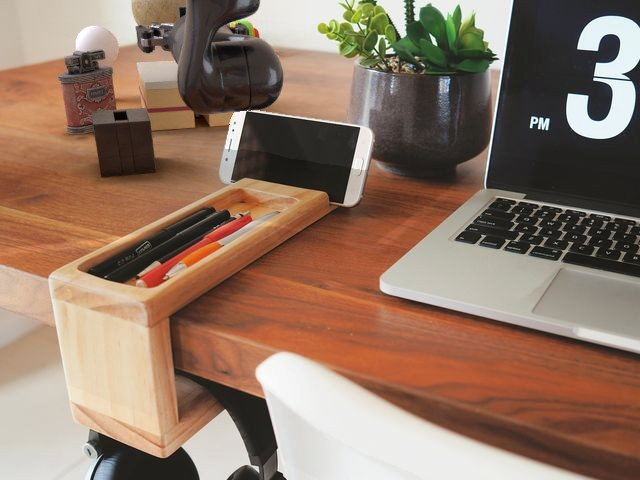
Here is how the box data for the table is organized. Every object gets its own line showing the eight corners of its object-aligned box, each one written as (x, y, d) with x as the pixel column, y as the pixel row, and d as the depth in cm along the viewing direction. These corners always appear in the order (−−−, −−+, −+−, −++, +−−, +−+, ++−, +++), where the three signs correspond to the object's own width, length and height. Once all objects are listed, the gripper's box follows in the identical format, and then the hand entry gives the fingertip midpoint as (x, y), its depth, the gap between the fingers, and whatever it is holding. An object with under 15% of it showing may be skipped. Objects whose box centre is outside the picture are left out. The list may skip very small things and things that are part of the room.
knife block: (101, 177, 81) (93, 124, 78) (99, 161, 86) (91, 110, 83) (156, 172, 83) (150, 120, 80) (151, 156, 88) (145, 107, 85)
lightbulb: (77, 98, 112) (65, 24, 107) (115, 93, 116) (105, 21, 111) (93, 106, 108) (82, 30, 103) (132, 101, 112) (123, 26, 107)
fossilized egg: (123, 42, 157) (113, -33, 151) (160, 34, 168) (153, -36, 161) (171, 47, 153) (163, -29, 146) (206, 39, 163) (200, -33, 157)
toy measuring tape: (250, 48, 154) (248, 16, 151) (278, 65, 139) (277, 30, 136) (220, 50, 152) (218, 17, 149) (246, 67, 136) (244, 31, 133)
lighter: (79, 135, 94) (66, 57, 90) (61, 131, 96) (48, 54, 91) (125, 122, 101) (115, 48, 96) (108, 118, 102) (97, 45, 98)
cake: (149, 131, 97) (144, 82, 94) (141, 106, 109) (136, 62, 106) (253, 123, 102) (250, 77, 99) (234, 100, 113) (231, 58, 110)
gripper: (261, 15, 88) (235, -1, 101) (140, 17, 83) (130, 1, 97) (263, 77, 91) (238, 54, 105) (147, 83, 87) (136, 58, 100)
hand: (186, 29), depth 101 cm, fingers open, 8 cm apart
